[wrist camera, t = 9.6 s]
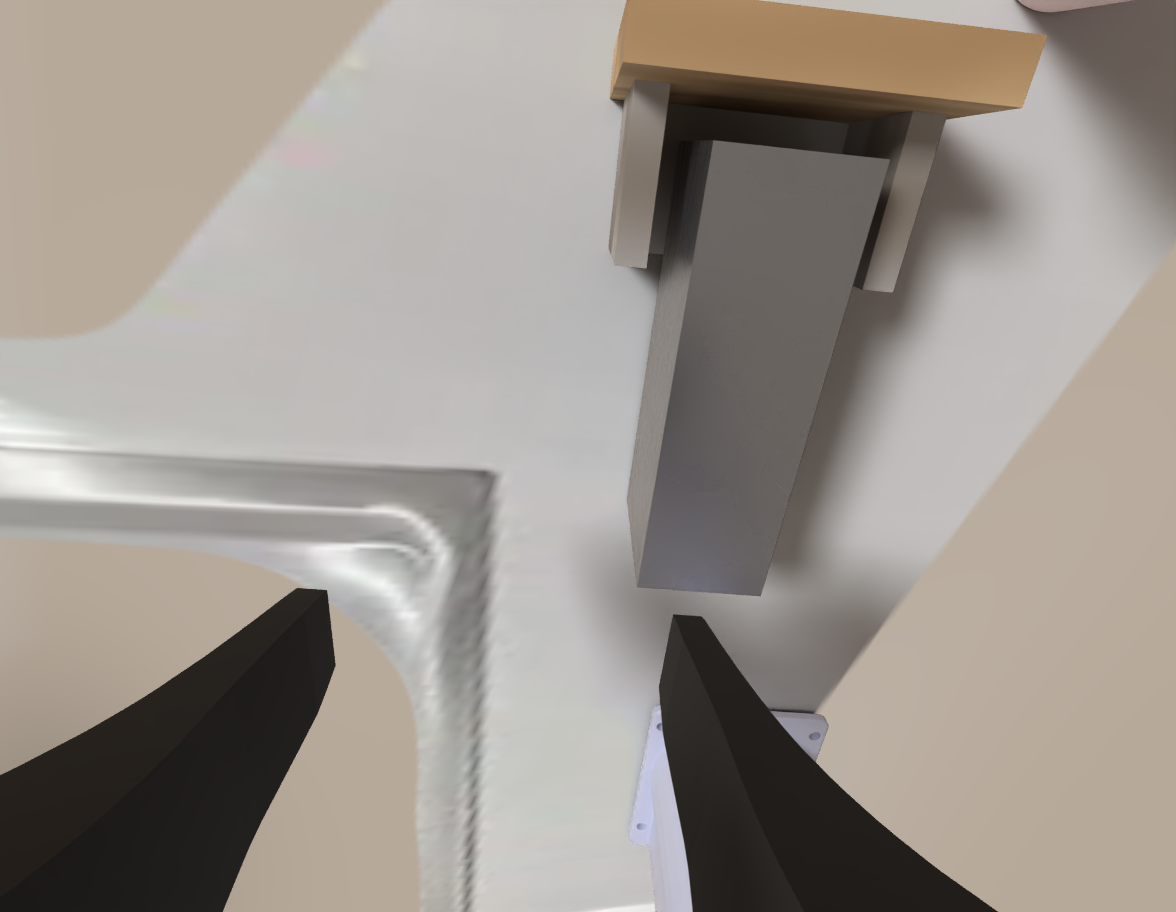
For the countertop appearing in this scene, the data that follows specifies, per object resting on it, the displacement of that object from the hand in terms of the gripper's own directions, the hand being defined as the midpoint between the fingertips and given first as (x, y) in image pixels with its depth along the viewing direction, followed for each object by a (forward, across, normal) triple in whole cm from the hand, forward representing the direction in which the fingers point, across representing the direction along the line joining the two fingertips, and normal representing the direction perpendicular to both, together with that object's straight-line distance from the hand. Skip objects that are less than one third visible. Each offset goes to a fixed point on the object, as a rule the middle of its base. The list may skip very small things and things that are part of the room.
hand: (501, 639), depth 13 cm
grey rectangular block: (+10, -6, -4) cm, 12 cm away
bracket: (+10, -6, -9) cm, 14 cm away
